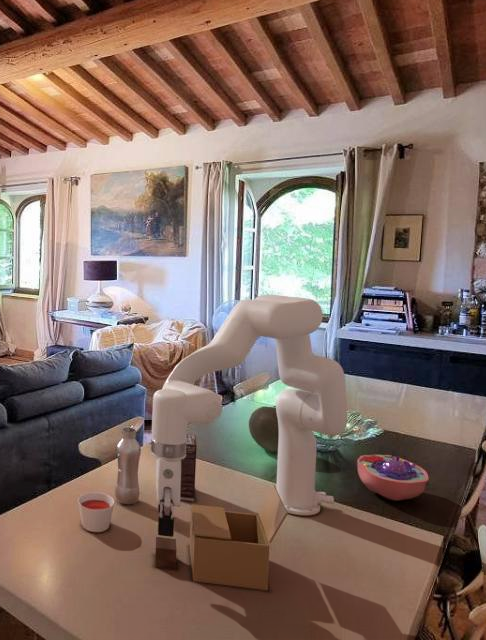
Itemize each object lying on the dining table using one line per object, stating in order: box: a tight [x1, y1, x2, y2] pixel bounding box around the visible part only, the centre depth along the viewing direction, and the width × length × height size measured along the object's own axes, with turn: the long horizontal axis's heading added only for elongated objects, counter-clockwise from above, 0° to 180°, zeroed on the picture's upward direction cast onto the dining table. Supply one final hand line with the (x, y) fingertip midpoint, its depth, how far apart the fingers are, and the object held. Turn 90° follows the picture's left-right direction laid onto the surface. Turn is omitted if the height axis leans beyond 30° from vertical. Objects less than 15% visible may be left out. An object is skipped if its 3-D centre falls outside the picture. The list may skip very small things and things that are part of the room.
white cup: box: [77, 491, 115, 533], centre depth 130 cm, size 9×9×6 cm
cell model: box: [356, 453, 430, 502], centre depth 149 cm, size 17×20×11 cm
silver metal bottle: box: [114, 427, 142, 505], centre depth 142 cm, size 6×7×20 cm
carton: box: [189, 503, 270, 591], centre depth 114 cm, size 15×13×10 cm
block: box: [154, 536, 177, 570], centre depth 115 cm, size 4×4×4 cm
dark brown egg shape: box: [248, 406, 279, 453], centre depth 180 cm, size 14×14×15 cm
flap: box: [257, 484, 289, 544], centre depth 112 cm, size 7×13×1 cm
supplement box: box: [180, 433, 198, 502], centre depth 147 cm, size 9×5×16 cm, turn 168°
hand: (165, 523), depth 115 cm, fingers open, 9 cm apart
